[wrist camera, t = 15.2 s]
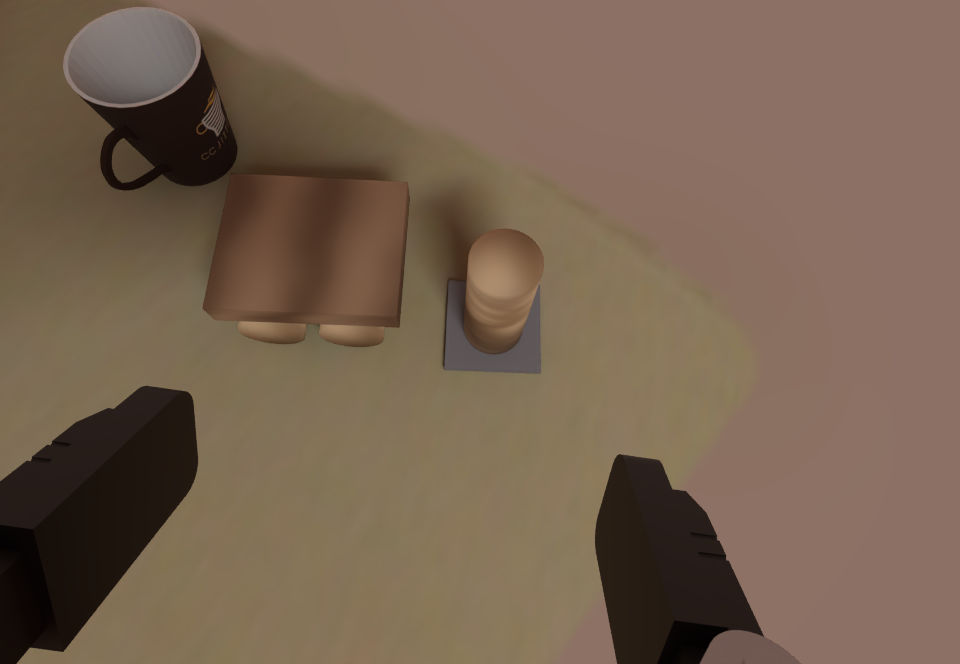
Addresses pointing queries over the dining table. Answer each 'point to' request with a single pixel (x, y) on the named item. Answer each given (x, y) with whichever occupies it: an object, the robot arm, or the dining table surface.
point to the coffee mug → (153, 95)
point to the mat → (470, 359)
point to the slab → (310, 258)
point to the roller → (500, 289)
